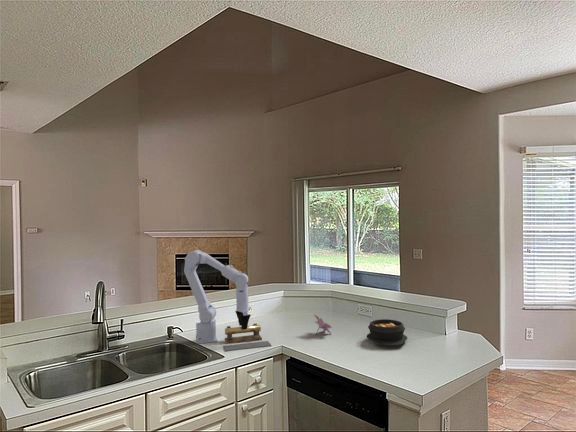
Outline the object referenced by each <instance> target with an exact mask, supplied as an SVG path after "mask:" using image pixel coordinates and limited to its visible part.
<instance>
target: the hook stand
mask: <svg viewBox="0 0 576 432" xmlns="http://www.w3.org/2000/svg"><path fill="white" fill-rule="evenodd" d="M254 325H258V323H253V324H252V326H254ZM226 328H232V327H231V325H227V326H226ZM252 333H253V334H251V335H249V334H247V335H240V336H239V335H238V336H233V334H232V333H229V335H226V337H224V341H225V343H226V345H231V344H240V343H249V342H255V341H256V342H258V341H263V337H262V336H261V335H260V331H259V330H255V332H252Z"/></svg>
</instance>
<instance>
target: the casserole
mask: <svg viewBox="0 0 576 432" xmlns="http://www.w3.org/2000/svg"><path fill="white" fill-rule="evenodd" d="M367 329H369V333H367V335H366V338H367V339H368V340H369V341H372V342H373V343H375V344H377V345H381V346H391V347H392V346H401V345H403V344H404V343H405V341H407V340H408V336H407V335H405V334H404V331H406V327H405V326H404V323H403V322H402V321H399V320H395V319H386V318H383V319H375V320H372V321H370V323H369V325H368V326H367Z"/></svg>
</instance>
